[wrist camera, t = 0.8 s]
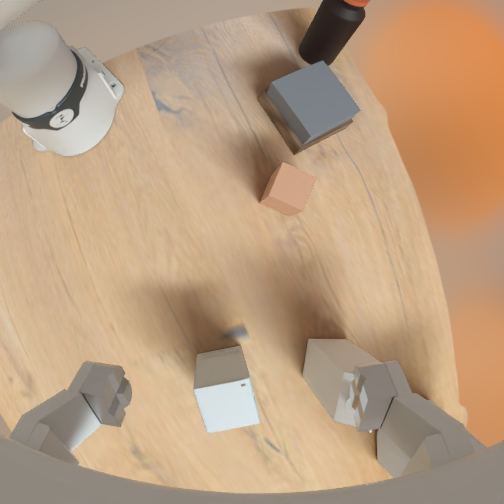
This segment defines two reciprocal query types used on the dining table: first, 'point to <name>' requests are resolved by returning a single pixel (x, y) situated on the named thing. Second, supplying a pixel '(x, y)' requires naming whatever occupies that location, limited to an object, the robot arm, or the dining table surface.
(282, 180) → the terracotta block
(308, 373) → the milk carton
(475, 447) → the plastic bottle
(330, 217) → the dining table surface
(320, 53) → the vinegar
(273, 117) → the tower base block
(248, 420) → the supplement box
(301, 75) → the tower top block
